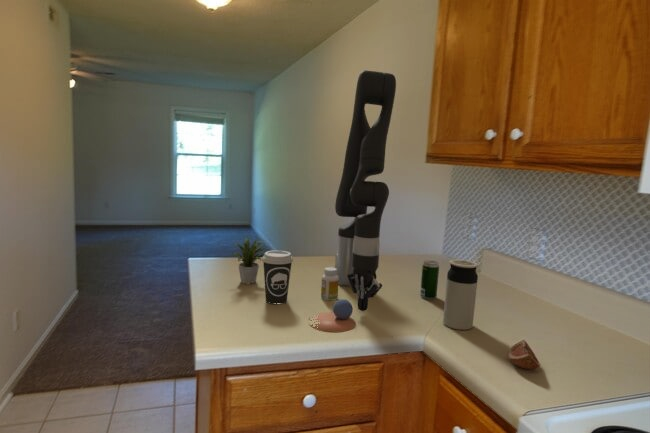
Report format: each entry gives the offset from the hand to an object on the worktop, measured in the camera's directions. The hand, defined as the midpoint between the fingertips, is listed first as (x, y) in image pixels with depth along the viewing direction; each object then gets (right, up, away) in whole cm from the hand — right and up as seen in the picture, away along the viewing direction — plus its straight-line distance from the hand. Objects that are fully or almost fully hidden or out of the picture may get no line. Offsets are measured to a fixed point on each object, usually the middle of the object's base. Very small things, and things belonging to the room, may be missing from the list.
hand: (362, 309), depth 122 cm
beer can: (+24, 0, +19) cm, 30 cm away
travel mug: (+26, -4, -4) cm, 27 cm away
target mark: (-9, -2, -6) cm, 11 cm away
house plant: (-38, +4, +24) cm, 45 cm away
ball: (-6, +1, -4) cm, 7 cm away
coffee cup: (-26, +1, +8) cm, 27 cm away
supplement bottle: (-9, +1, +13) cm, 16 cm away
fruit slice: (+34, -7, -26) cm, 44 cm away
